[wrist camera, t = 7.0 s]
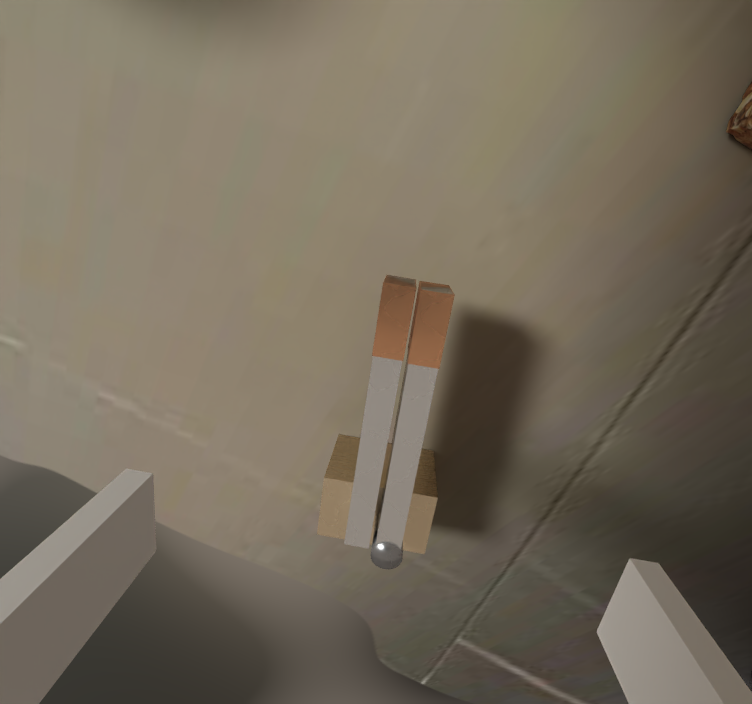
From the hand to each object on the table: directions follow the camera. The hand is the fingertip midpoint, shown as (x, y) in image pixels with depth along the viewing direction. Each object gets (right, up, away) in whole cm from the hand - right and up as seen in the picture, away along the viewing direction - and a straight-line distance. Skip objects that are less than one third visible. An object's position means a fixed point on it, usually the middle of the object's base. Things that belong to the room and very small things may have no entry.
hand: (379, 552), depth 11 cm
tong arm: (+2, +1, +15) cm, 15 cm away
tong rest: (+1, +2, +21) cm, 21 cm away
